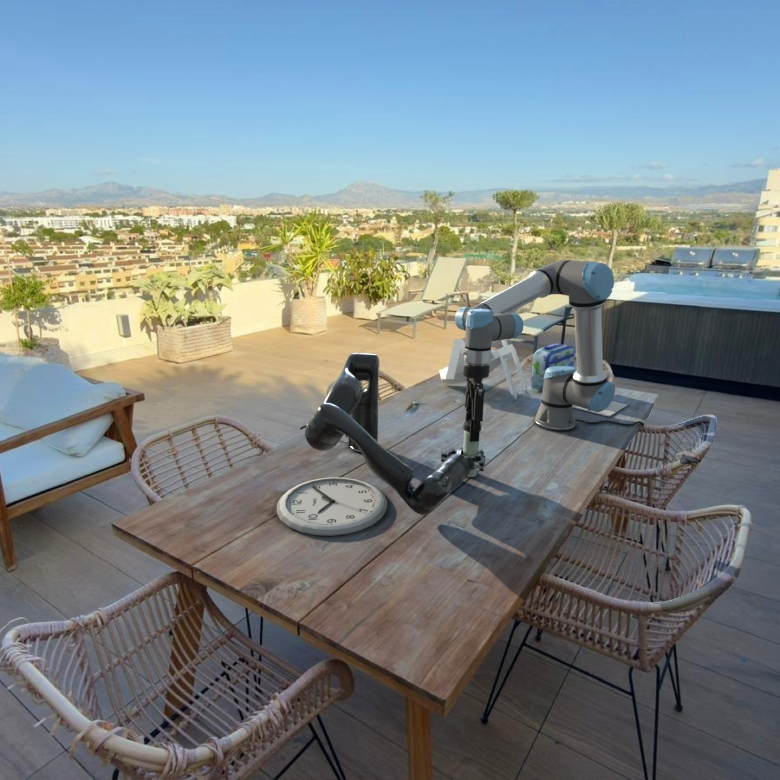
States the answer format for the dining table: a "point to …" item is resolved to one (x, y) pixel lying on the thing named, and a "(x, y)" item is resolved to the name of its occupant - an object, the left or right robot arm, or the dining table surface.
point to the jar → (470, 450)
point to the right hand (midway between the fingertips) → (471, 436)
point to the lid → (468, 426)
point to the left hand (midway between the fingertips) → (473, 450)
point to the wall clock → (331, 506)
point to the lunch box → (550, 361)
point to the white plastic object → (502, 355)
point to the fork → (413, 403)
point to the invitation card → (607, 409)
